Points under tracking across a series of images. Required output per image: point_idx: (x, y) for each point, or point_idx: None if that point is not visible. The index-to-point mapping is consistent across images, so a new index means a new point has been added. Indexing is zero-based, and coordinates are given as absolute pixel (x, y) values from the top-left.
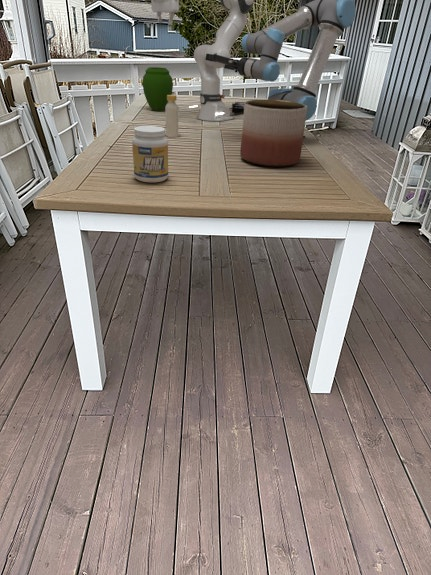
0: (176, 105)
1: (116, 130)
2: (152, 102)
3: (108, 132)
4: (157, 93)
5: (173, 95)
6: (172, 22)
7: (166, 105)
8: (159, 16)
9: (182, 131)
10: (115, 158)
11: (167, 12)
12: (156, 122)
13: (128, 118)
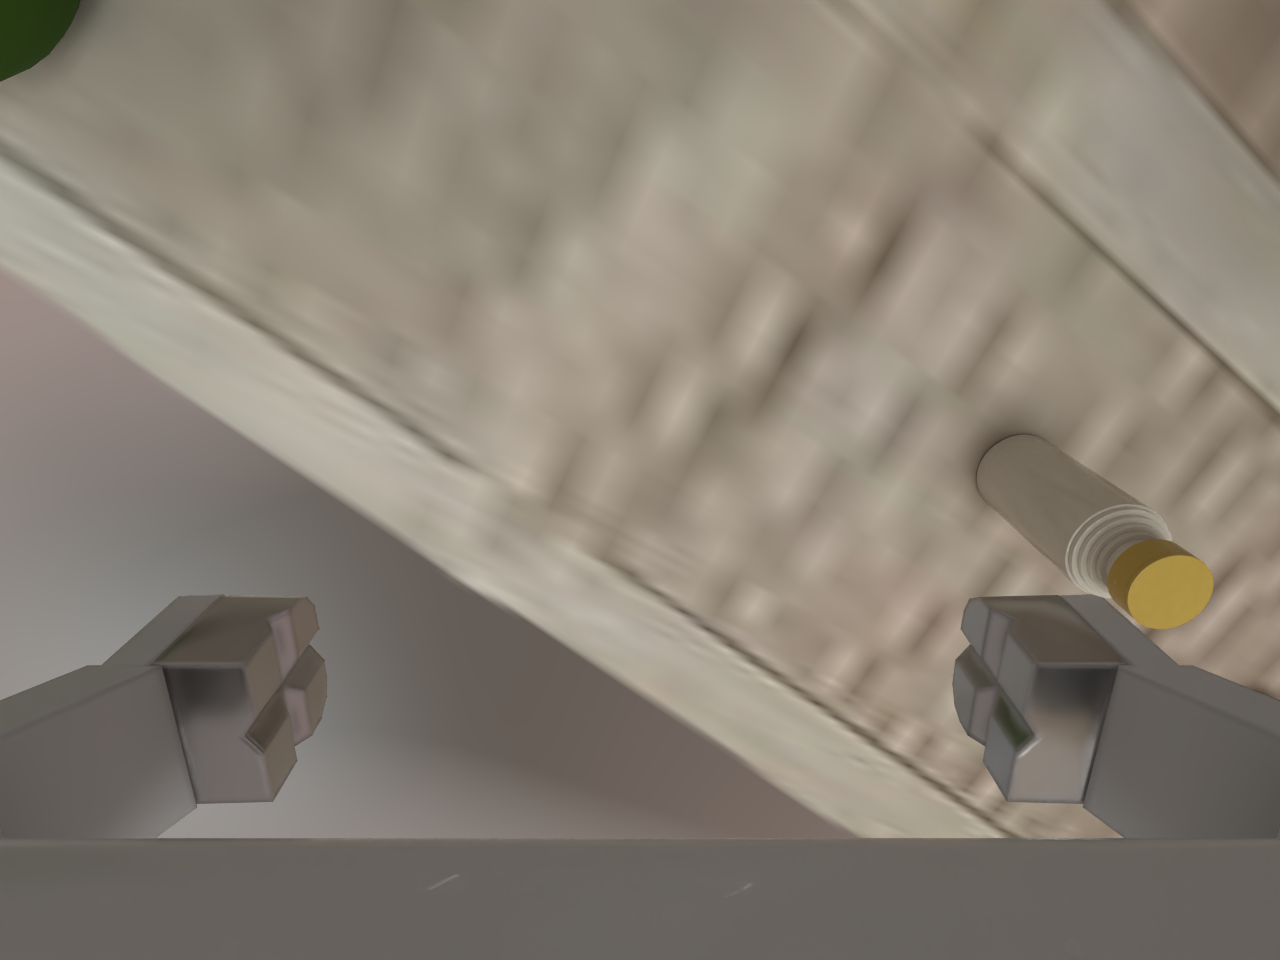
0: (1168, 539)
1: (699, 680)
2: (33, 64)
3: (726, 736)
4: (25, 17)
5: (1179, 579)
6: (1104, 611)
7: (1098, 592)
8: (57, 817)
9: (950, 329)
10: None
11: (645, 857)
12: (576, 325)
13: (351, 440)
